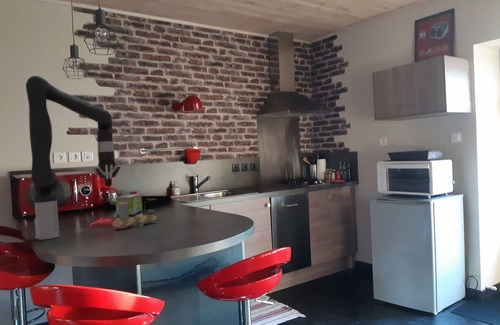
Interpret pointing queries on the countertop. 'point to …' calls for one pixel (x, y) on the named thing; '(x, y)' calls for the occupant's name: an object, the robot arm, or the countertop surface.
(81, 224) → the countertop surface
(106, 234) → the countertop surface
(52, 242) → the countertop surface
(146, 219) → the bread loaf
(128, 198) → the tea box
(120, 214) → the block
